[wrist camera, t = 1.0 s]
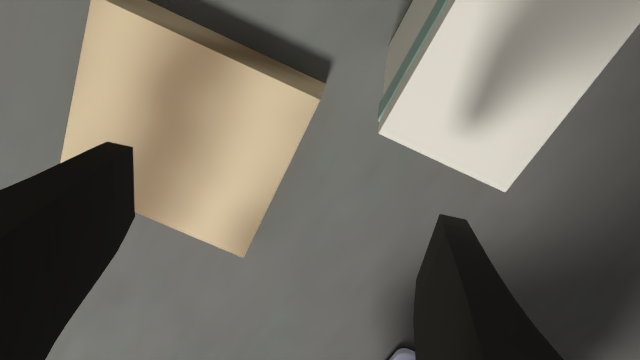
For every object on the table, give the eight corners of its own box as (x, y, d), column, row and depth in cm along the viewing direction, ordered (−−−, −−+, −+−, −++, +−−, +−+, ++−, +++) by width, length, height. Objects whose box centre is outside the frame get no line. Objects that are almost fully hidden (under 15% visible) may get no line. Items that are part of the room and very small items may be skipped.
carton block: (585, -61, 18) (662, -3, 13) (481, 92, 22) (505, 194, 16) (475, -120, 18) (503, -88, 12) (386, 46, 21) (375, 134, 16)
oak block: (327, 78, 23) (320, 99, 21) (253, 231, 28) (243, 257, 26) (116, -20, 22) (92, -6, 20) (79, 156, 27) (57, 179, 25)
